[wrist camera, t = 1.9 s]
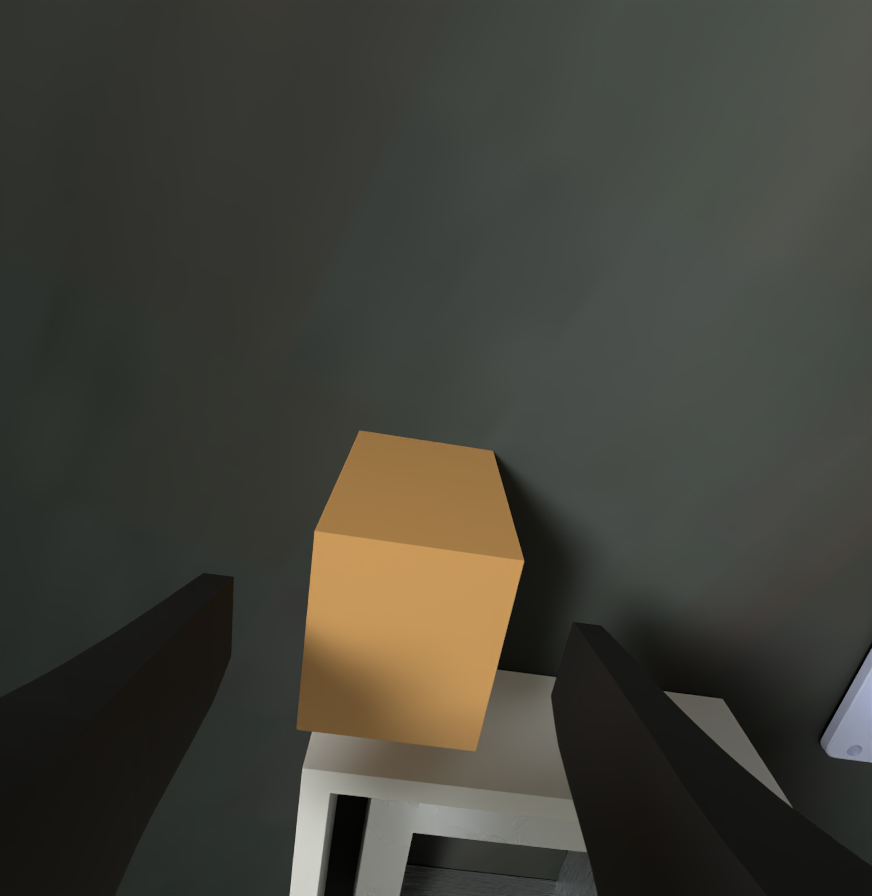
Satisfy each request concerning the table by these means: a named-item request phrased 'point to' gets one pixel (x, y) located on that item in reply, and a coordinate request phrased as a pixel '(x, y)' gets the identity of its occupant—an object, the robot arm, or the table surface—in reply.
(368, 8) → the table surface
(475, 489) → the light brown rectangular block
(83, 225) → the table surface
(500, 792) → the walled box
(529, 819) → the inlet socket
